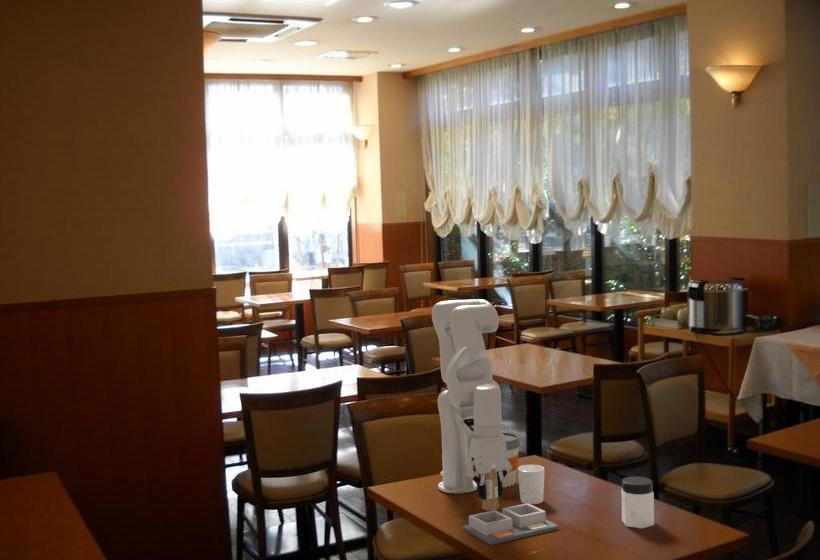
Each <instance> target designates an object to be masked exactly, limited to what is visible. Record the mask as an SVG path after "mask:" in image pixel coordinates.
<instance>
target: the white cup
mask: <svg viewBox="0 0 820 560" xmlns="http://www.w3.org/2000/svg"><path fill="white" fill-rule="evenodd" d="M517 474H518V476H517V477H518V487H519V488H518V489H519V499H520V501H521V503H522V504H526V503H529V504H531V505H538V504H541V503H543V501H544V493H545V492H544V491H545V467H544V466H542V465H539V464H523V465H519V466H518V468H517Z"/></svg>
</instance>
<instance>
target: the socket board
mask: <svg viewBox="0 0 820 560" xmlns="http://www.w3.org/2000/svg"><path fill="white" fill-rule="evenodd" d="M546 513H547V512H546V511H545V510H543V509H542V508H539V507H537V506H535V505H534V504H529V503H522V504H517V505H513V506H508V507H503V508H502V512H500V511H498V510H497V509H496V510H488V511H485V512H480V513H477V514H471V515H468V524H466V525H463V526H462V529H463V531H465V532H467V533H469V534H470V535H472V536H474V537H476V538H477V539H479V540H480V541H483V542H485V543H486V544H488V545H490V546H493V545H498V544H501V543H506V542H510V541H513V540H518V539H523V538H528V537H532V536H535V535H539V534H540V535H541V534H544V533H549V532H552V531H556V530H559V525H558V524H556V523H554V522H552V521H550V520H548V519H547V518H546V516H547V514H546Z"/></svg>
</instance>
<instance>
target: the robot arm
mask: <svg viewBox="0 0 820 560" xmlns="http://www.w3.org/2000/svg"><path fill="white" fill-rule="evenodd" d="M431 320H432V324H433V327H434V330H435V332H436V335H437V338H438V341H439V363H440V374H441V379H442V382H444V383H445V384H446V387H447V389H445V390H443V391H442V392H440V393H439V395H438V396H437V409H438V414H439V415H438V416H439V421H440V431H441V459H442V471H440V472H439V475H440V476H441V477H442V481H441V482H438V486H437V487H438V488H437V489H438V490H439V491H441V492H443V493H448V494H455V495H456V494H468V493H472V492H474V491H476V492H477V493H476V495H477V497H478V498H479V499H481V500H482V501H483V500H485V499H486V486H485V485H484V480H485V474H488V473H490V472H491V470H492V469H491V466H492V465H493V464H495V465H496V468H494V469H495V471H496V472H497V480H498V497H502V496H503V487H502V482H503V481H504V477H505V476H506V475H507V472H509V471H510V470H511V469H512V465H511V464H510V463H509V461H508V458H507V448H506V442H505V438H504V435H503V434H502V432H503V430H505V429H506V424H505V423H503V421H502V418H503V417H502V415H503V414H502V391H501V386H500V385H499V384H498V382H497V380H496V381H495V380H494V379H493V369H492V364H491V359H490V357H489V356H488V355H487V354H486V353H485V352H486V346H485V341H484V337H483V334H485V333H489V334H490V333H494V332H496V331H497V330H498V328H499V323H500V319H499V313H498V311H497V310H496V308H495V306H494V305H493V304H492V303H490V302H489V301H488V300H487V299H483V298H482V299H481V298H478V299H477V298H476V299H475V298H474V299H453V300H443V301H439V302H437V303H435V304H434V305H433V306H432V308H431ZM469 419H473V432H474V434H473V433H472V431H471V429H470V427H469V426H468V425H467V424H466V423H465V422H464V420H469ZM472 434H473V435H472ZM475 472H476V473H475ZM474 473H475V474H474Z"/></svg>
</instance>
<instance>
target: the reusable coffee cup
mask: <svg viewBox="0 0 820 560" xmlns="http://www.w3.org/2000/svg"><path fill="white" fill-rule="evenodd" d="M502 434H503V435H504V438H505V442H506V448H507V458H508V461H509V463H510V464H511V465H512V469H511V470H510V471H509V472H507V475H506V476H505V477H504V481H503V482H502V488H508V487H507V486H509V487H512V486H514V485H515V484H516V475H517V470H518V467H519V461H520V460H519V458H520V453H519V448H520V446H521V445H520V439H519V435H517V434H515V433H511V432H505V431H504V432H503V431H502ZM511 485H512V486H511Z"/></svg>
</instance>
